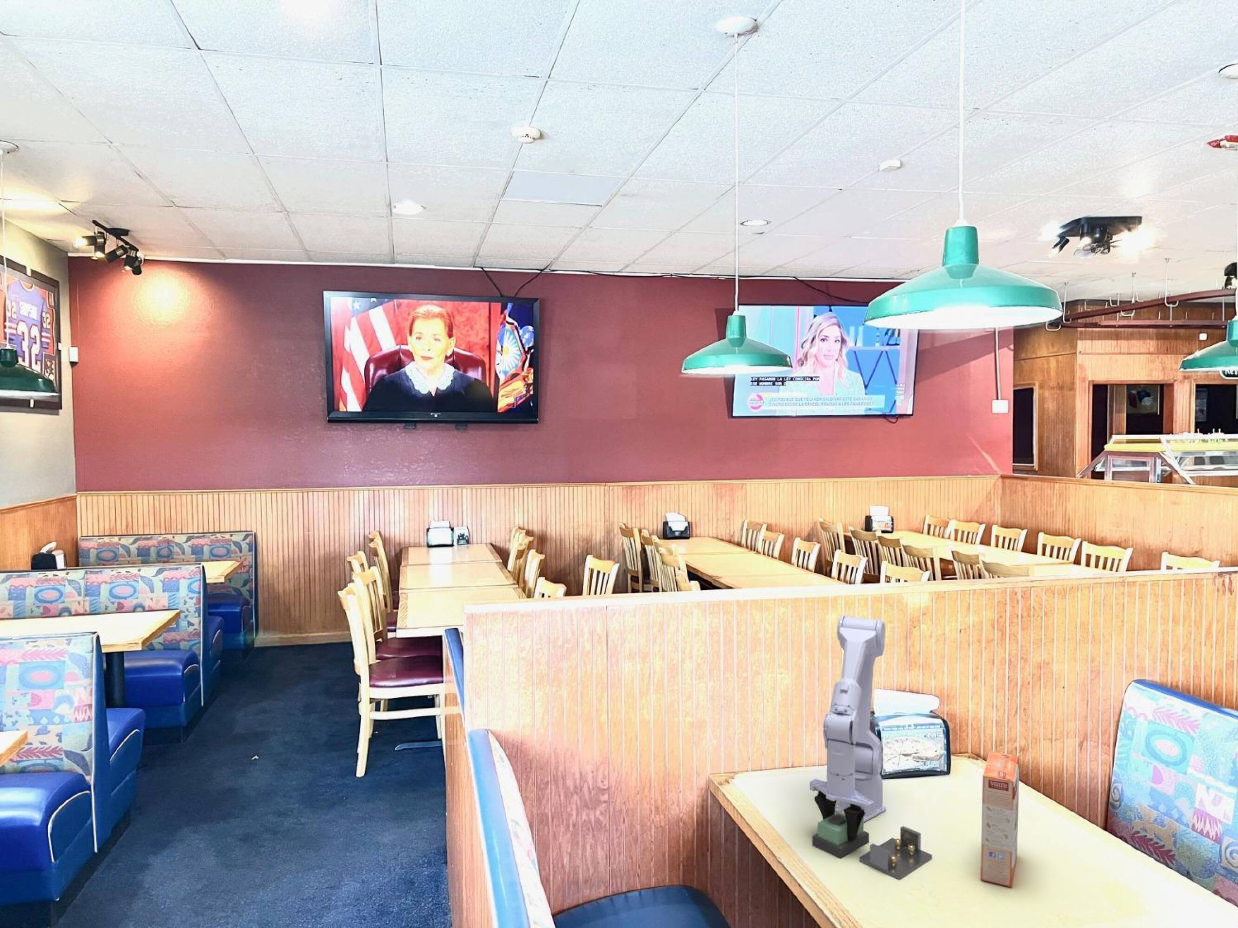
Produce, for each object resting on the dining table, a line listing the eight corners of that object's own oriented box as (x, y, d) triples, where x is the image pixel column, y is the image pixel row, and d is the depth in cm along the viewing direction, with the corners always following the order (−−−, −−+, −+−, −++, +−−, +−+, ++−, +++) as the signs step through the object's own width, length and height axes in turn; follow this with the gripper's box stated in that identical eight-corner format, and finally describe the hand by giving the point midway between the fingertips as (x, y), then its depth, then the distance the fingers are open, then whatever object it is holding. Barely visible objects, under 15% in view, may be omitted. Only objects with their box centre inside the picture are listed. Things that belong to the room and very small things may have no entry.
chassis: (892, 841, 171) (892, 821, 170) (932, 858, 164) (932, 837, 164) (859, 860, 163) (859, 840, 163) (899, 879, 156) (899, 858, 156)
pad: (840, 829, 176) (840, 820, 176) (868, 842, 170) (868, 832, 170) (812, 845, 169) (812, 835, 169) (840, 858, 164) (840, 848, 164)
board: (843, 822, 175) (843, 806, 175) (863, 831, 171) (863, 814, 171) (817, 836, 169) (817, 819, 169) (838, 845, 165) (838, 828, 165)
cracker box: (1014, 889, 152) (1015, 780, 152) (979, 880, 155) (980, 774, 155) (1019, 855, 165) (1020, 754, 164) (987, 848, 168) (987, 748, 167)
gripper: (800, 764, 172) (800, 827, 173) (859, 787, 161) (859, 853, 162) (821, 755, 177) (821, 816, 177) (879, 777, 166) (879, 842, 166)
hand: (840, 833), depth 170 cm, fingers closed on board, 5 cm apart
